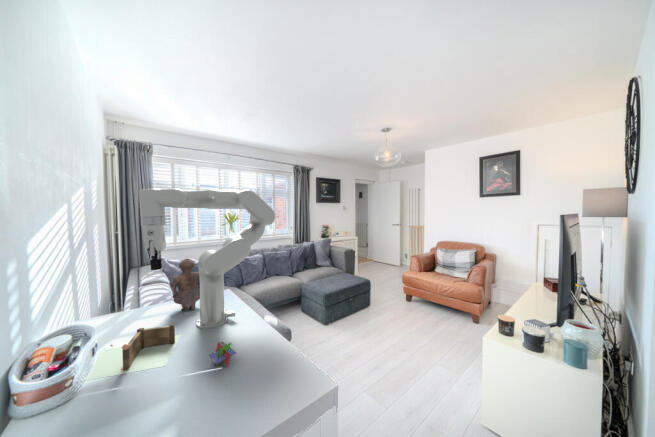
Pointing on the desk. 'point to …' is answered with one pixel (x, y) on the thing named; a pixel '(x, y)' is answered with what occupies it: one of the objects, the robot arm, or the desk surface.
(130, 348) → the panel
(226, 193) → the robot arm
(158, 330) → the fence fixed section
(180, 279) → the clay figurine
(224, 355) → the geometric puzzle
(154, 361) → the card
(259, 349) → the desk surface
